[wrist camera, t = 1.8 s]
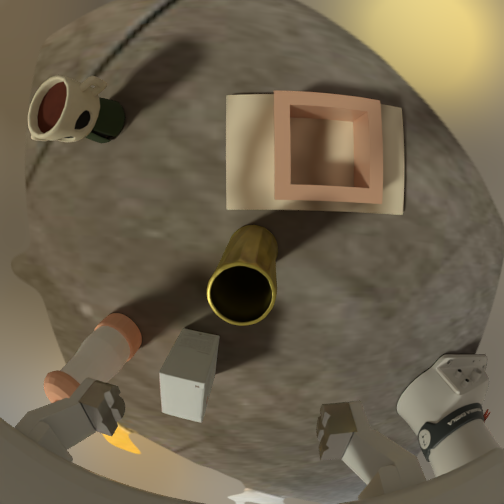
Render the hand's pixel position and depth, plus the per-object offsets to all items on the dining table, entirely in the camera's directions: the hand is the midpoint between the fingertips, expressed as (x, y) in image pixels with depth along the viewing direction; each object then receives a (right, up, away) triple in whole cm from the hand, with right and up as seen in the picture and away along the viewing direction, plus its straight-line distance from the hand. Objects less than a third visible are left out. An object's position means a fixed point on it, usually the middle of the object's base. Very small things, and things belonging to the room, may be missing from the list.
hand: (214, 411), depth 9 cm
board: (+10, +18, +21) cm, 29 cm away
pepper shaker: (-19, -7, +30) cm, 36 cm away
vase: (+2, +6, +25) cm, 26 cm away
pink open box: (+9, +18, +20) cm, 28 cm away
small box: (-6, -9, +30) cm, 31 cm away
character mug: (-18, +24, +22) cm, 37 cm away
